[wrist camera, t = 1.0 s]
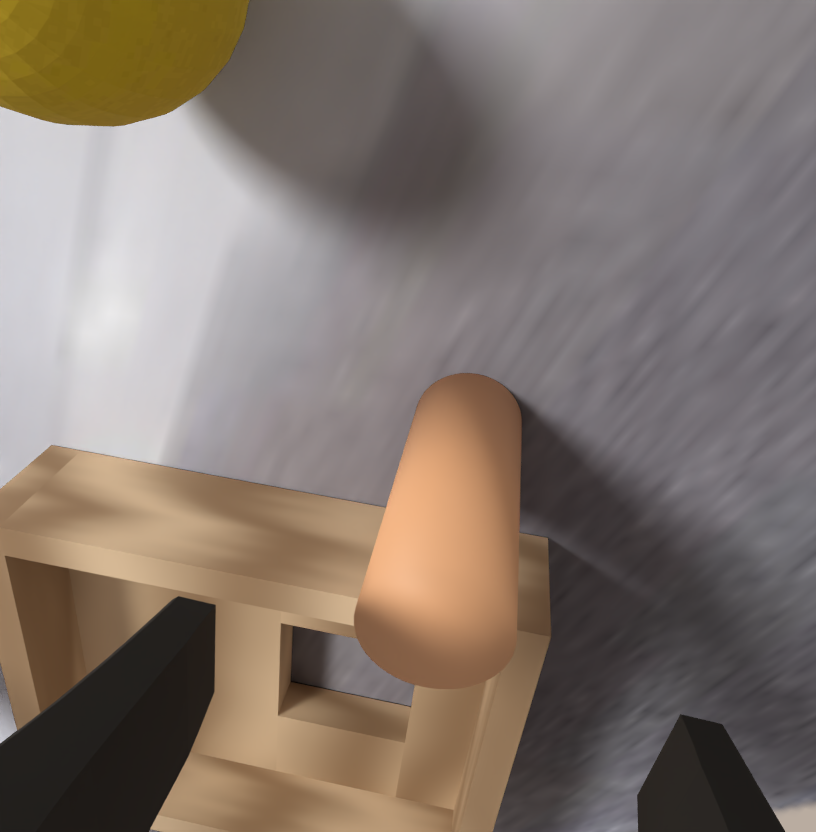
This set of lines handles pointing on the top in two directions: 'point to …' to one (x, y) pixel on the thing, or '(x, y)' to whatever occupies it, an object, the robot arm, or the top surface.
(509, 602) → the peg
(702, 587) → the top surface
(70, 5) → the lemon
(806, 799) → the top surface
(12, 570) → the box
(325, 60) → the top surface
